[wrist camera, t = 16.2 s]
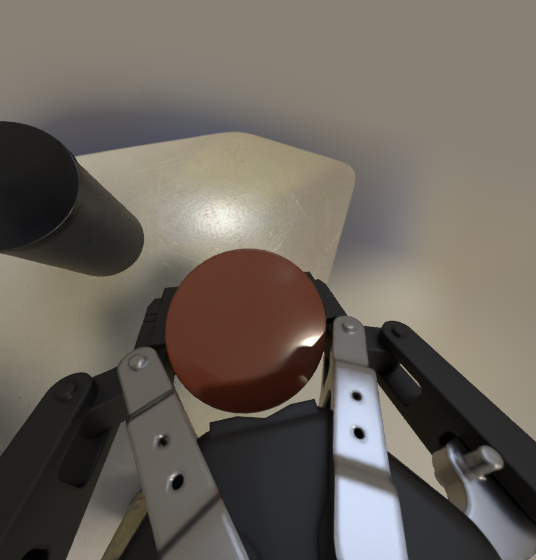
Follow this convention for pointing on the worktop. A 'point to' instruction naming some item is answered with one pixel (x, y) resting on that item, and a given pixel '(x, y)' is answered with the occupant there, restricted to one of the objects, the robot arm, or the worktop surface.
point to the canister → (245, 331)
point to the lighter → (126, 527)
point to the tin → (60, 208)
